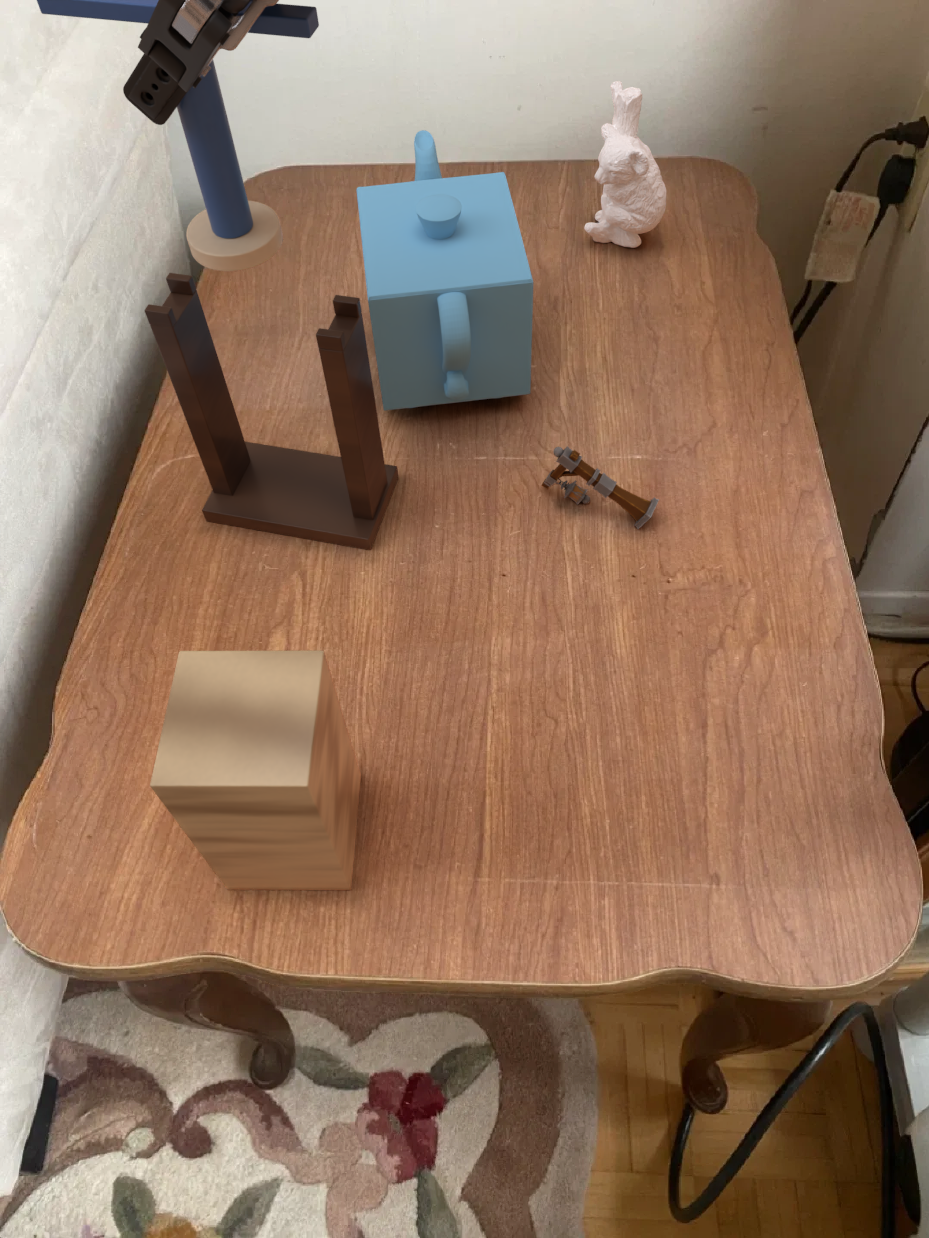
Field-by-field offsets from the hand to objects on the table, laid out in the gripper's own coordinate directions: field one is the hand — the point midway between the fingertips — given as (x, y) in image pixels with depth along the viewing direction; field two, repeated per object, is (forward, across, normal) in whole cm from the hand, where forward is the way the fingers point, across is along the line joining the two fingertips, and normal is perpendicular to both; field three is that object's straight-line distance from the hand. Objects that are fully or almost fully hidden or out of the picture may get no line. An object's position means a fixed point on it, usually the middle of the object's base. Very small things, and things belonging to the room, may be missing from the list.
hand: (156, 91), depth 45 cm
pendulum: (+4, 0, +7) cm, 8 cm away
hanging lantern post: (+5, -4, +37) cm, 37 cm away
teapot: (+15, -18, +26) cm, 35 cm away
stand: (+19, 0, +22) cm, 29 cm away
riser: (+13, +24, +28) cm, 39 cm away
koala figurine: (+7, -36, +34) cm, 50 cm away
